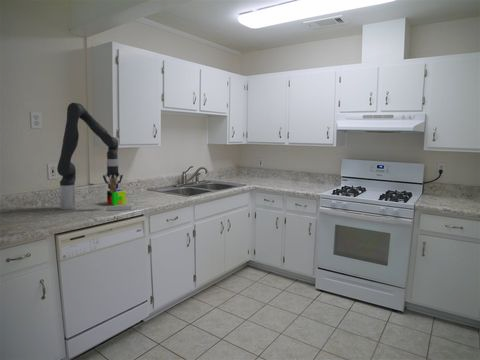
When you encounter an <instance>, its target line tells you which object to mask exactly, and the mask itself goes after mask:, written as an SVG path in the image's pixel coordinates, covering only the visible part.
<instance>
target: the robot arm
mask: <svg viewBox="0 0 480 360" xmlns="http://www.w3.org/2000/svg"><path fill="white" fill-rule="evenodd" d="M66 108H67V109H66V122H65V128H64V133H63V138H62V144H61V145H62V146H61V151H60V156H59V161H58V164H57V167H56V170H57V173H58V175H60V176H62V178H61V179H60V181H59V187H60V188H59V189H60V191H59V193H60V196H59V205H60V207H59V208H60V210H64V211H65V210H67V211H69V210H73V209H76V207H77V205H76V188H75V187H76V186H75V185H76V184H75V183H76V179H77V178H76V173H77V172H76V166H75V164H74V163H73V162H72V161H71V160H72V158H73V157H72V156H73V154H74V153H75V151H76V149H77V146H78V144H79V138H80V134H79V127H78V125H79V121H80V120H82V121H83V122H84V123H85V124H86V125H87V127H89V129H90V130H91V131H92V132H93V133H94V135H96V136H97V137H99V139H100V140H101V142H103V143H104V144H105V146H107V147H108V149H107V152H106V174H103V175H102V178H103V181H104V182H105V184H107V186H108V189H109V190H110V179H111V178H115V179H116V190H118V189H119V184H121V182H122V179H123V176H124V175H123V174H121V173H120V172H119V160H118V158H119V157H118V155H119V154H118V150H119V141H118V139H117V137H115V136H111V135H110V133H109V132H108V131H107V129H105V128H104V127H103V125H101V124H100V123H99V122H98V121H97V120H96V119H95V118H94V117H93V116H92V115H91V114H90V113H89V111H88V110H87V109H86V108H85V107H84V105H82V104H81V103H77V102H71V103H69V104H68V106H67V107H66ZM107 177H108V180H107ZM118 178H119V180H118Z"/></svg>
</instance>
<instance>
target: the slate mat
mask: <svg viewBox="0 0 480 360" xmlns="http://www.w3.org/2000/svg"><path fill="white" fill-rule="evenodd" d="M131 210H132V205H121V206H120V205H115V206H114V205H113V206H108V208H107V212H113V211H114V212H115V211H131Z"/></svg>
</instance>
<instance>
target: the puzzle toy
mask: <svg viewBox="0 0 480 360" xmlns="http://www.w3.org/2000/svg"><path fill="white" fill-rule="evenodd" d="M126 193H127V191H126V190H123V189H116V192H113V193H110V190H107V191H106V198H107V201H106V202H107V205H110V204H111V206H113V207H114V206H120V205H121V206H122V205H126V204H127V194H126Z"/></svg>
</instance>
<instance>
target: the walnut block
mask: <svg viewBox="0 0 480 360" xmlns="http://www.w3.org/2000/svg"><path fill="white" fill-rule="evenodd" d="M116 190H117V189H116V179H115V178H111V179H110V189H109V191H110V193H113V192H116Z"/></svg>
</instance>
